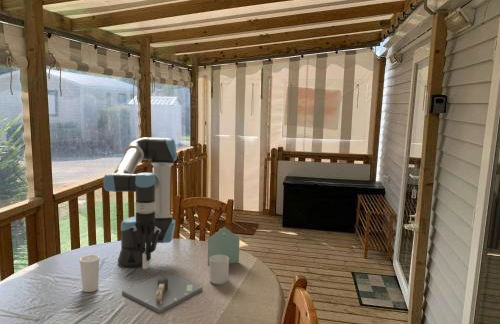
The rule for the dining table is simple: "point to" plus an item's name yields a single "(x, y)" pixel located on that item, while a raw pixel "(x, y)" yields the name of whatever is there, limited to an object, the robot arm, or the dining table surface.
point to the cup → (89, 272)
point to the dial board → (171, 296)
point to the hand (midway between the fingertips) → (145, 267)
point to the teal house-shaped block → (224, 245)
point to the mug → (219, 269)
